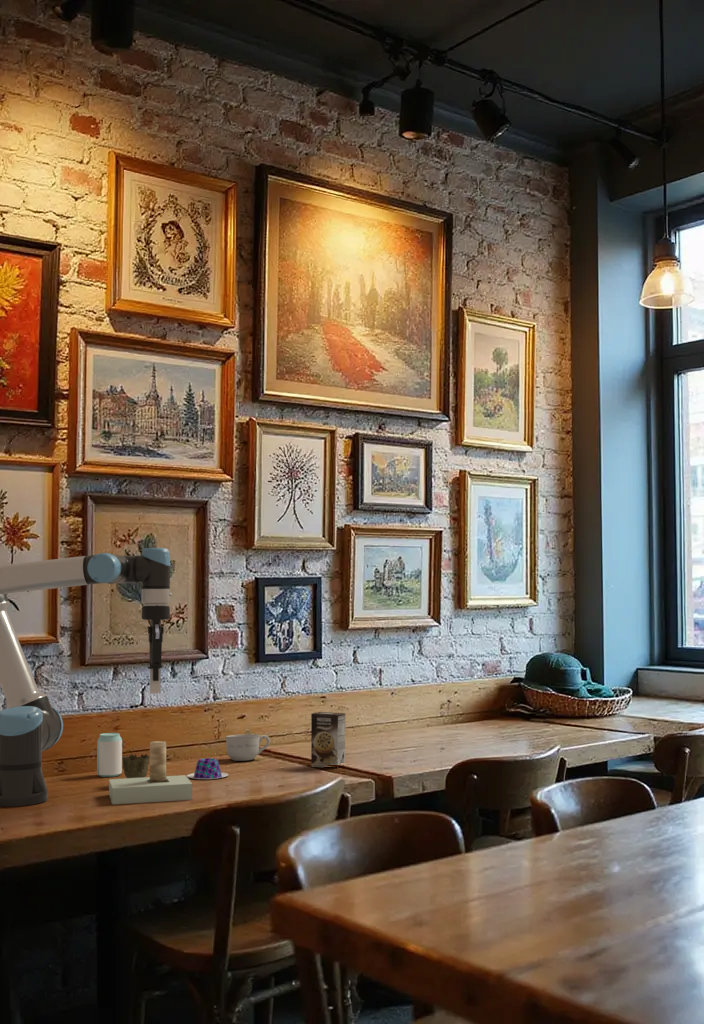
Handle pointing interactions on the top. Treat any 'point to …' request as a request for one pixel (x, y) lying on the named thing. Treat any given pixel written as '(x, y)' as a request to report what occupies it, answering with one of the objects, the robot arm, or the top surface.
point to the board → (149, 790)
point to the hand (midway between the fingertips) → (155, 693)
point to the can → (109, 755)
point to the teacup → (245, 746)
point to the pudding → (207, 769)
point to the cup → (135, 766)
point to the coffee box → (327, 739)
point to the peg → (157, 762)
